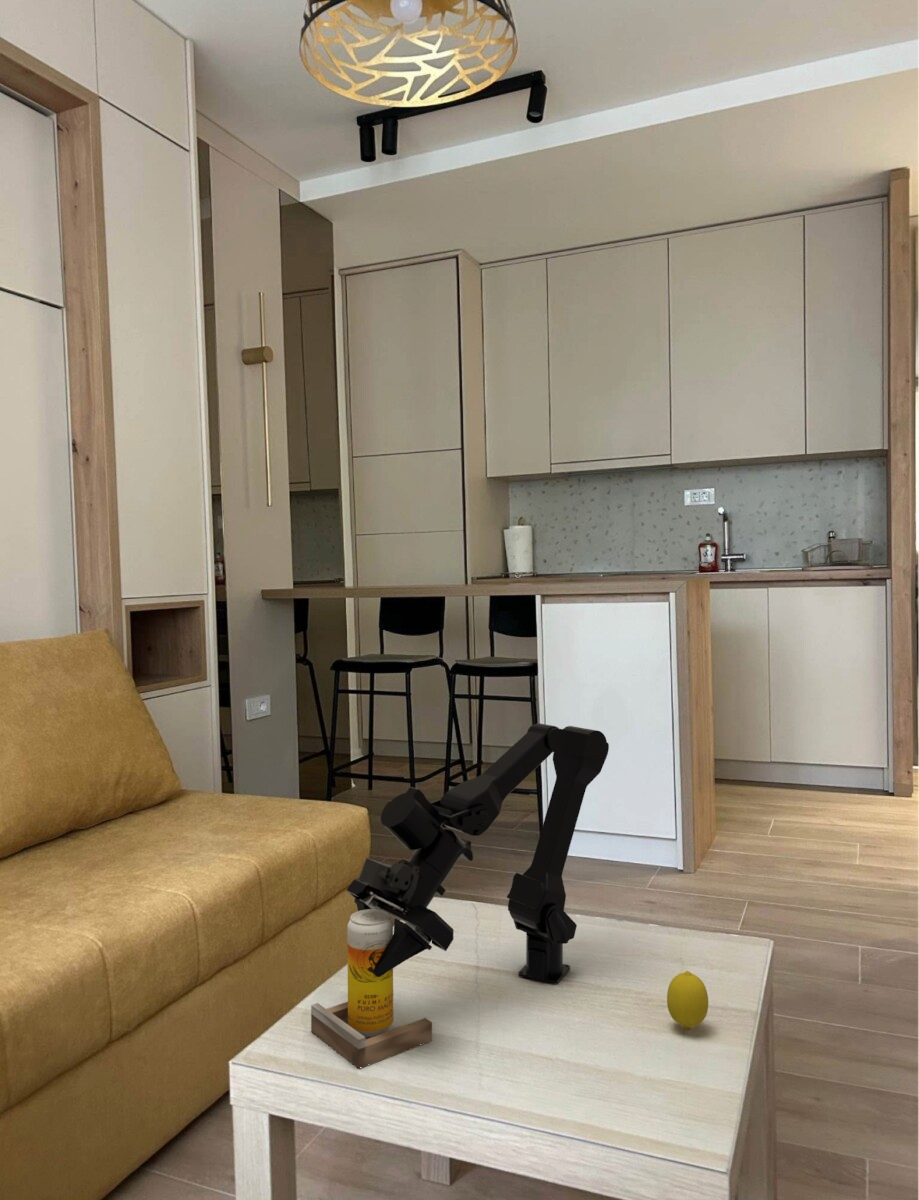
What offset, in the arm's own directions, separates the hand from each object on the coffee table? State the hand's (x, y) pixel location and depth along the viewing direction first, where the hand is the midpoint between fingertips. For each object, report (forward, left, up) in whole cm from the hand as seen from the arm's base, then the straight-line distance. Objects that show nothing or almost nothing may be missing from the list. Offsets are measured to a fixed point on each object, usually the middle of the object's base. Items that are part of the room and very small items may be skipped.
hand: (362, 967), depth 121 cm
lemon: (-23, +38, -10) cm, 46 cm away
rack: (-1, 0, -10) cm, 10 cm away
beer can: (-1, +1, -9) cm, 9 cm away
